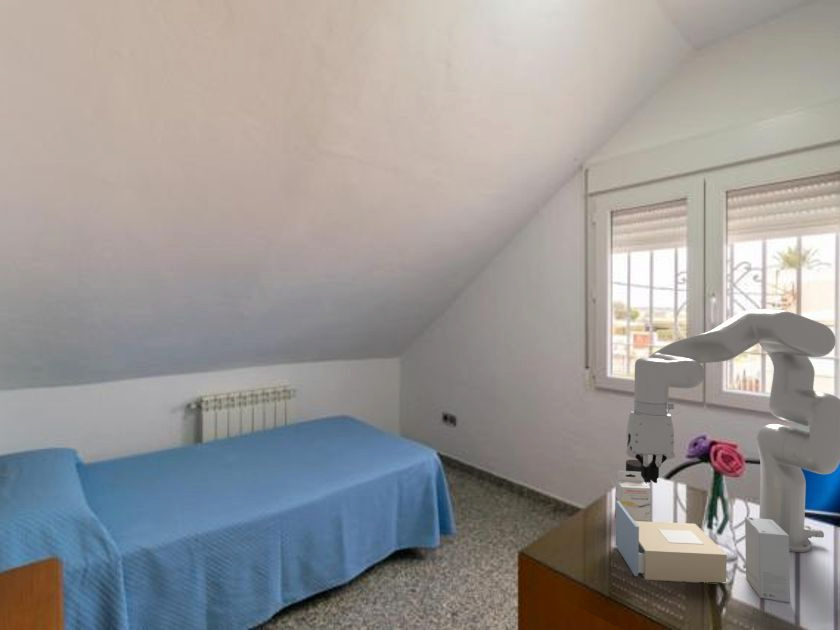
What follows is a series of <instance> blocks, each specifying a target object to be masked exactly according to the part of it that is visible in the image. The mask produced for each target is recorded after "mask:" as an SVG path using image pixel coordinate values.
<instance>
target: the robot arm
mask: <svg viewBox="0 0 840 630" xmlns="http://www.w3.org/2000/svg"><path fill="white" fill-rule="evenodd" d="M758 344H759V346H760V347H761V348H762V349H763V350H764V351H765V352H766V354H767V355H768V357H770V360H771V363H772V366H773V373H772V383H771V388H770V389H771V390H770V396H769V403H768V405H769V406H768V407H769V408H768V409H769V412H770V413H771V415H773V417H776V418H777V419H779V420H782V421H786V422H787V423H788V422H789V423H792V424H795V425H800V426H804V427H807V428H809V430H808V431H806V430H802V429H799V428H796V427H792V426H788V425H784V424H779V423H778V424H777V423H771V424H765V425H763V426H762V427H761V428H760V429H759V430H758V432H757V435H756V446H757V450H758V454H759V455H758V456H759V460H760V483H759V484H760V486H759V490H760V491H759V517H758V518H760V519H770V520H773V521H774V522H775V523H776V524H777V525H778V526H779V527H780V528H781V529H782V530H784V531H785V532H786V533H787V534H788V535H789V552H792V553H806V552H809V551H810V550H812V542H811V540H810V539H812V537H814V538H824V536H825V533H824V531H823V530H822V529H814V528H811V526H810V525H805V521H806V520H805V518H806V517H805V513H806V511H805V510H806V487H807V486H806V477H805V474H804V472H803V470H805V471H809V472H812V473H816V474H820V475H829V474H832V473H833V472H835V471H836V470H837V469H838V467H839V465H840V398H839V397H837V396H836V395H834V394H831V393H828V392H823V391H822V392H821V391H817V390H814V383H815V374H816V373H815V368H814V366H813V363H812V361H811V360H810V357H811V358H821V357H824V356H827V355H829V354H830V353H832V351H833V350H834V348H835V347H836V336H835V334H834V331H832V328H830V327H829V326H827V325H826V324H824V323H821V322H819V321H817V320H814V319H810V318H808V317H805V316H802V315H800V314H798V313H794V312H791V311H787V310H775V309H774V310H773V309H771V310H770V309H748V310H745V311H742V312H739V313H738V314H736V315H734V316H733V317H731V318H730V319H727V320H726V321H724V322H723V323H722V324H721V323H720V324H719V325H718V326H716V327H714V328H713V329H711V330H709V331H707V332H703V333H700V334H696V335H693V336H689V337H687V338H683V339H679V340H675V341H674V342H671V343H669V344H667V345H665V346H663V347H661V348H660V349H658V350H656V351H655V352H653V353H652V354H651V355H650V356H649V357H639V358H637V359H636V360H635V362H634V387H633V388H634V391H633V392H634V396H633V398H634V400H633V401H634V402H633V405H634V407H633V410H631V411H630V413H629V415H628V416H629V417H628V421H627V428H626V439H625V442H626V443H625V445H626V447H627V448H626V452H625V454H626V456H628V457H630V458H632V459H634V460H638V461H639V462H640V463H641V476H642V477H643V479H644V480H645V481H646V482H647V484H650V483H651V482H652V483H654V484H658V479H659V477H660V472H659V471H660V467H662V464H663V463H664V462H665V461H666V460H671V459H674V458H675V457H676V455H675V432H674V425H673V420H672V415H671V414H670V410H674V408H675V405H674V403H670V402H669V390H670V388H674V389H675V388H676V389H685V390H688V389H694V388H697V387H698V386H700V385H701V384H702V382H704V379H705V377H706V372H705V368H704V367H703V365H702V364H711V363H721V362H727V361H730V360H733V359H735V358H736V357H737V356H739V355H741V354H742V353H744V352H746V351H747V350H749V349H750V348H752V347H754V346H755V345H758ZM649 455H651V462H649Z"/></svg>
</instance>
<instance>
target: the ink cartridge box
mask: <svg viewBox="0 0 840 630" xmlns="http://www.w3.org/2000/svg"><path fill="white" fill-rule="evenodd" d="M630 474H632V475H635V477H626V475H630ZM614 491H615V494H614V495H615V497H614V498H615V499H614V519H616V501H620V503H621V504H622V505H623V507H624V508H625V509H626V511H627V512H628V513H629V514H630V516H631V517H632V518H633V520H634V521H645V522H651V498H652V495H651V494H652V488H651V487H650V486H649V485H648V483H647V484H646V483H645V482H644V479H643V477H642V476H641V472H634V471H626V470H617V471H616V480H615V490H614Z"/></svg>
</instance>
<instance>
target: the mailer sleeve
mask: <svg viewBox="0 0 840 630" xmlns="http://www.w3.org/2000/svg"><path fill="white" fill-rule="evenodd" d="M635 522H636V524H637V525H638V526H639V544H640V546H641V547H642V548H643V550H644V551H645V571H644V573H641V575H642V576H643V578H644V580H647V581H648V580H649V581H665V582H667V581H669V582H681V583H682V581H685V582H684V583H699V582H704V583H703V584H709V583H708V582H726V583H727V560H728V559H727V558H728V557H727V556H728V555H727V553H726V552H725V551H724V550H723V549H722V548H721V547H720V546H718V545H717V544H716V542H715V541H713V540H712V538H710V537H709V536H708V535H707V534H706V532H704V531H703V530H702V529H701V528H700V527H699V526H698V525H697V524H696V523H688V522H685V523H682V522H668V521H667V522H664V521H663V522H661V521H650V522H645V521H635ZM705 582H707V583H705Z"/></svg>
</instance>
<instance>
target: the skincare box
mask: <svg viewBox="0 0 840 630" xmlns="http://www.w3.org/2000/svg"><path fill="white" fill-rule="evenodd" d="M744 528H745V529H744V532H745V534H744V535H745V539H744V541H745V578H746V579H747V581H748V582H749V584H750V585H751V586H752V588H753V590H754V591H755V592H756V593H757V594H758V596H759V597H760V598H761V599H767V600H768V599H769V600H771V601H772V600H773V601H777V602H781V603H782V602H783V603H789V604H790V603H791V577H790V576H791V573H790V567H791V566H790V551H789V535H788V534H787V533H786V532H785V531H784V530H782V529H781V528H780V527H779V526H778V525H777V524H776V523H775V522H774V521H773V520H770V519H760V518H759V517H748V516H747V517H744Z"/></svg>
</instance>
